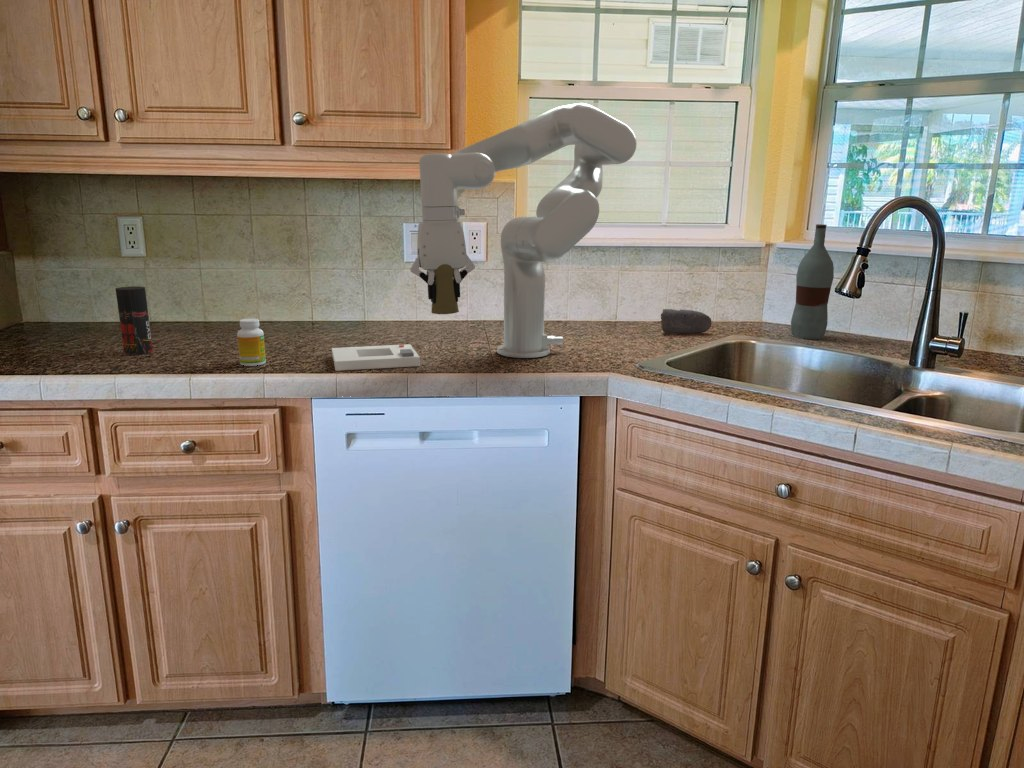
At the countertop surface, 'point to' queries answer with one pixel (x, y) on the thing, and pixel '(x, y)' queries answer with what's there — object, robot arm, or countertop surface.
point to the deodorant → (134, 320)
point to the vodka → (813, 290)
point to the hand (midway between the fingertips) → (444, 300)
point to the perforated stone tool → (684, 321)
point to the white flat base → (374, 357)
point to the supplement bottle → (251, 343)
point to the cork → (444, 291)
